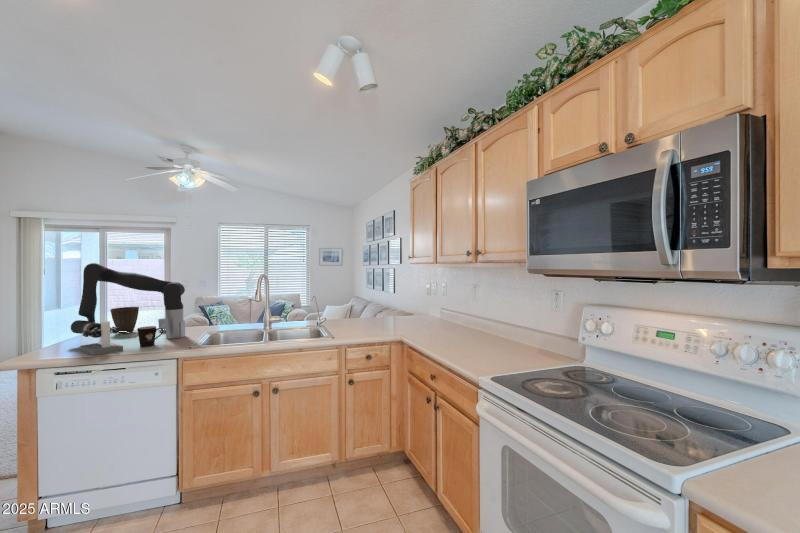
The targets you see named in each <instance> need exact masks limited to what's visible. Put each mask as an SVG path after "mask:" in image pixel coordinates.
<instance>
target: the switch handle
mask: <svg viewBox="0 0 800 533" xmlns="http://www.w3.org/2000/svg"><path fill="white" fill-rule="evenodd" d="M100 324H101V337H100V338H101V342H100V343H101V347H102V348H105V347H110V342H111V334H110V327H111V321H109V320H106V321H100Z"/></svg>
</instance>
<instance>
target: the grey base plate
mask: <svg viewBox="0 0 800 533" xmlns="http://www.w3.org/2000/svg"><path fill="white" fill-rule="evenodd" d="M79 350H80V351H81V352H84V353H85V352H86V353H85V354H88V353H89V354H88V355H91V356H94V357H95V356H102V355H107V354H112V352H113V353H118V352H123V351H124V345H122V344H119V343H114V342H112V341H110V347H105V348H102V347H101V342H96V343H89V344H84V345H83V344H82V345H80V346H79ZM117 351H118V352H117ZM106 353H107V354H106ZM101 354H102V355H101Z"/></svg>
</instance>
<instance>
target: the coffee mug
mask: <svg viewBox="0 0 800 533" xmlns="http://www.w3.org/2000/svg"><path fill="white" fill-rule="evenodd" d="M159 329H161V330H162V332H160V334H159V335H157V336H156V333H157V331H159ZM136 330H137V334H138V341H139V347H140V348H148V347H154V346H155V340H157V339H158V338H159V337H161V335H163V334H164V332H163V329H162V328H159V327H158V328H157V326H155V325H150V326H149V325H148V326H140V327H137V328H136Z"/></svg>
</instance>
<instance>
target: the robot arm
mask: <svg viewBox="0 0 800 533" xmlns="http://www.w3.org/2000/svg"><path fill="white" fill-rule="evenodd" d="M98 282H106V283H111V284H116V285H119V286H122V287H124V288H128V289H132V290H137V291H142V292H143V291H145V292H156V293H157V292H158V293H162V296H163V304H164V308H165V318H166V332H165V339H180V338H181V339H182V338H184V337H185V336H186V322H185V321H186V320H185V319H184V304H183V303H182V302H183V301H182V295H184V293H185V290H186V289H185V286H184V285H183V284H182V283H180V282H176V281H169V280H162V279H159V278H155V277H151V276H148V275H144V274H142V273H141V274H140V273H138V272H137V273H136V272H131V271H129V272H128V271H118V270H115V269H112V268H108V267H106V266H104V265H101V264H99V263H96V262H93V263H91V262H90V263H88V264H87V265H85V266H84V268H83V282H82V295H81V299H80V304H79V309H78V315H79V316H81V317H83V318H86V320H83V319H79V320H78V319H76V320H74V321H73V322H72V323H71V325H70V330H71V332H72V333H74V334H82V336H83V337H85V338H88V337H91V338H95V339H97V338H101V322H100V323H99V322H96V313H95V312H96V307H97V305H98V297H97V296H98V295H97V286H98ZM118 332H119V327H115V326H112V327H111V326H110V335H111V334H119V333H118Z"/></svg>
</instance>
